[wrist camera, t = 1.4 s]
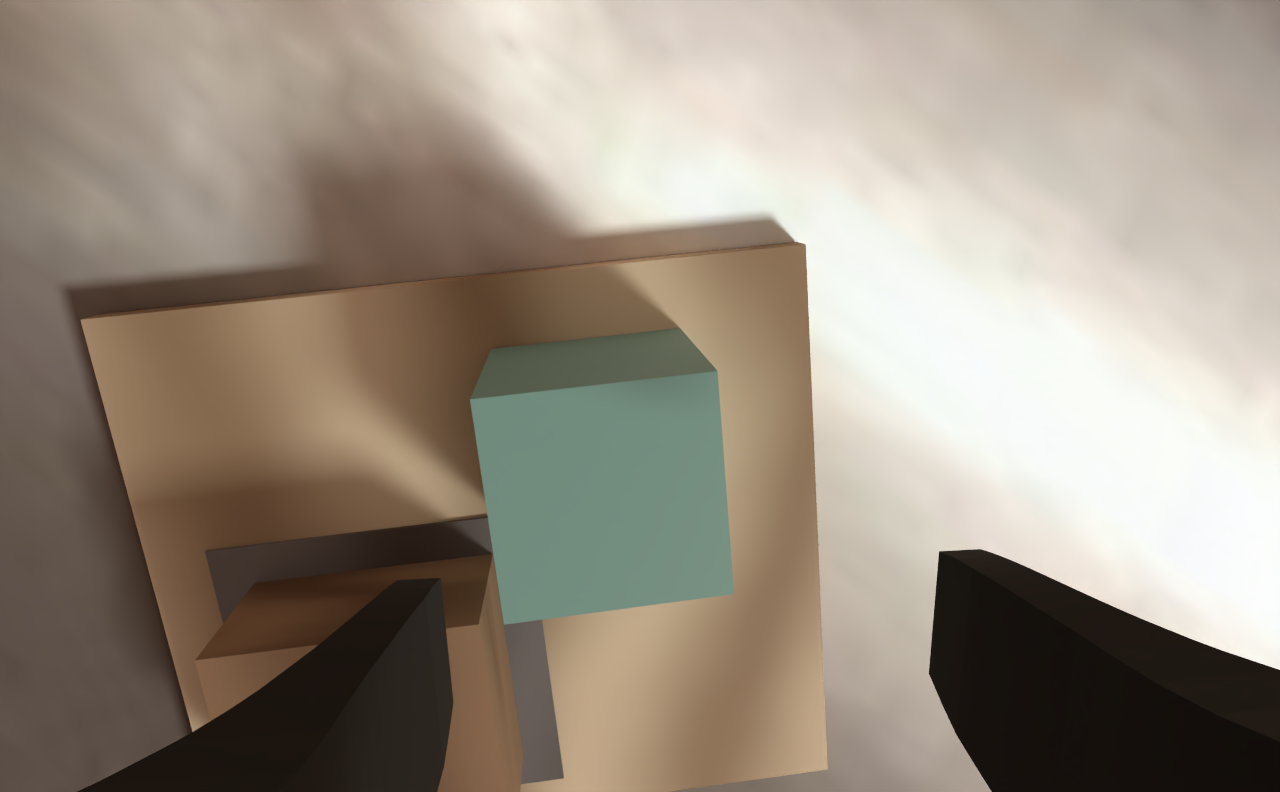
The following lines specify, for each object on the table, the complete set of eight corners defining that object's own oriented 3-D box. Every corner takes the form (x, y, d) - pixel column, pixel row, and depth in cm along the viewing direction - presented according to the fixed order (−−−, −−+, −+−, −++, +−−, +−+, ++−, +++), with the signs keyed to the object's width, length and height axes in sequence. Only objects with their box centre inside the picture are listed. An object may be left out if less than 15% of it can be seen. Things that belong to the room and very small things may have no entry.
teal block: (516, 525, 21) (504, 624, 16) (491, 348, 20) (470, 399, 15) (694, 503, 22) (733, 594, 17) (680, 327, 20) (717, 371, 16)
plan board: (237, 831, 24) (224, 856, 23) (99, 314, 20) (77, 320, 19) (819, 751, 25) (828, 771, 24) (796, 241, 21) (806, 244, 20)
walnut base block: (302, 782, 23) (255, 889, 19) (254, 583, 21) (194, 660, 18) (523, 752, 23) (515, 851, 20) (492, 553, 21) (478, 624, 18)
